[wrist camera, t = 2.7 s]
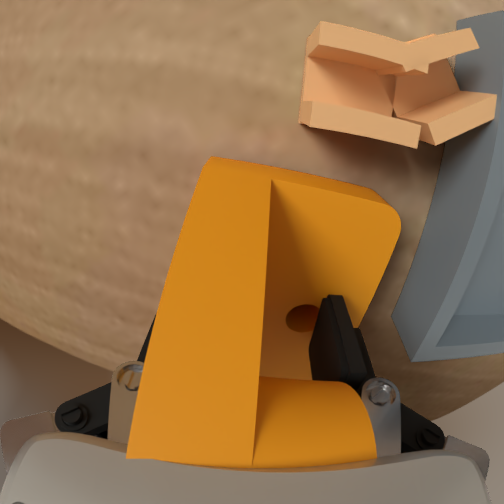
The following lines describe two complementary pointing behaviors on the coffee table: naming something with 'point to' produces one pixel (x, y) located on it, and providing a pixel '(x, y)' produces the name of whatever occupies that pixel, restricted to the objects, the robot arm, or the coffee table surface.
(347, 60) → the clip
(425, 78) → the clip
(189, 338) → the bracket
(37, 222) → the coffee table surface
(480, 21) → the gray tray
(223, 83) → the coffee table surface
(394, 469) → the robot arm
